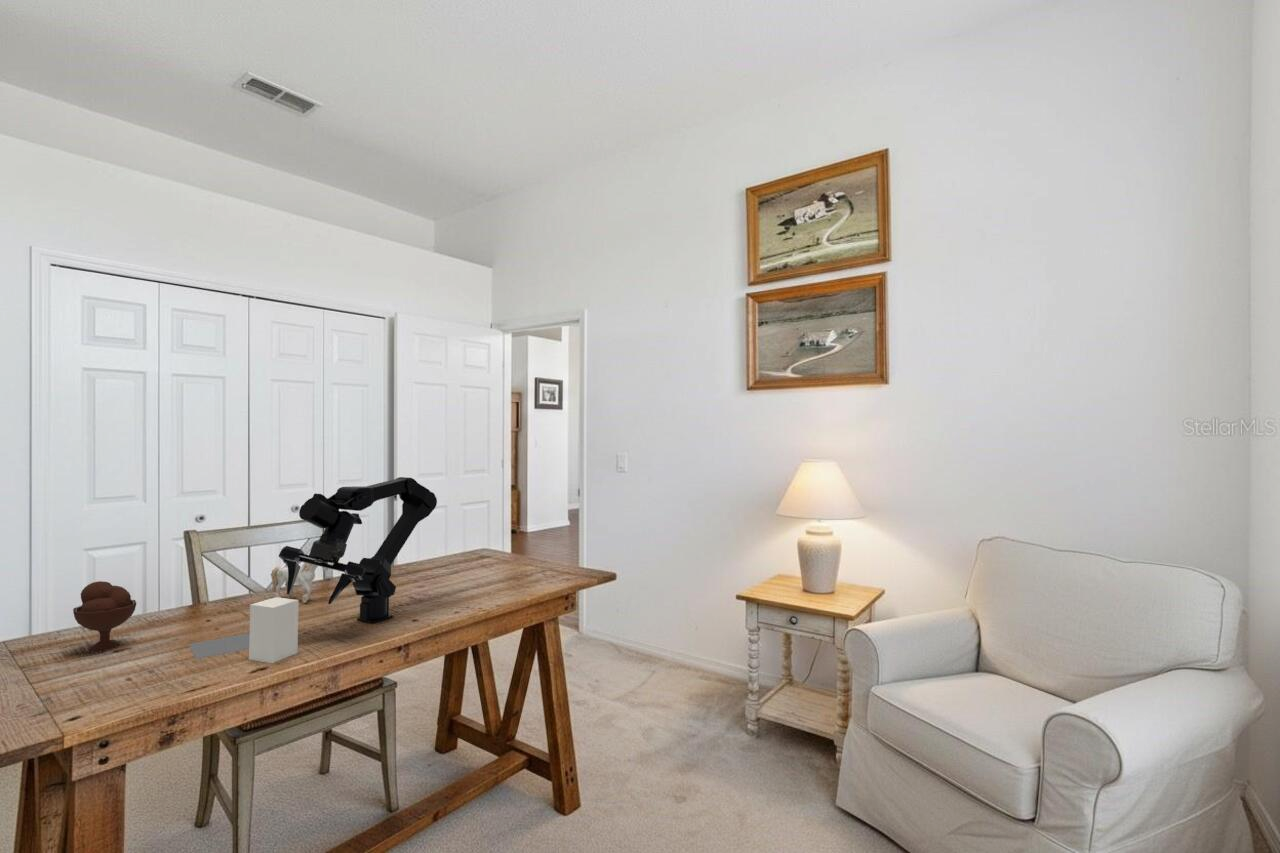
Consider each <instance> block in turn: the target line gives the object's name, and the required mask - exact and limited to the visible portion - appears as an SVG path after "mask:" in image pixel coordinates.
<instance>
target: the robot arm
mask: <svg viewBox="0 0 1280 853" xmlns="http://www.w3.org/2000/svg"><path fill="white" fill-rule="evenodd" d="M397 495H398V497H399V500H400V501H402V504H401V505H402V506H401V511H402V512H401V515H400V516H399V518H398V519H397V521H396V523H395V524H394V526H393V527H392V529H391V530H390V531H389V533H388V535H387V536H386V537H385V539H384V541H383V542H382V544H380V546H379V548H378V550H377V551H376V552H375V554H374V555H373V556H372V557H370V558H368V557H363V558H362V559H361V560H360V561H359V563H357V562H353V561H348V562H347V563H346V564H345V563H341V562H339V561H340V559H341V558H343V557H344V555H345V552H346V550H347V547H348V544H347V542H348V540H349V537H350V534H351V532H352V529H353V528H354V525H362V524H363V522H362V519H361V516H360V514H359V513H353V512H352V513H350V512H349V511H360V512H361V511H364V510H365V509H367V508H369V507H372V505H373V504H374V503H375V502H377V501H381V500H383V499H387V498H391V497H393V496H397ZM437 504H438V499H437V496H436V495H435V493H434V492H433V491H431V490H430V489H428V488H427V487H425V486H423V485H422V484H420V483H418V481H416V479H414V478H412V477H402V476H399V477H397V478H394V479H391V480H387V481H382V482H379V483H375V484H371V485H367V486H366V485H365V486H354V485H353V486H341V487H339V488H338V489H337V491H336V493H333V494H332V495H331V496H329V497H326V496H325V495H324V494H322V493H316V492H315V493H313V496H312V497H310V498H309V499H307V500H306V501H305V502H304V503H303V504H302V505H301V507H300V509H299V511H298V514H299V515H298V516H299V518H300V519H301V520H302V521H305V522H307V523H309V524H312V525H313V526H315V527H318V528H319V529H324V531H323V533H322V534H321V535H320V538H319V539H318V540H315V541H313V542H312V545H311V548H310V551H309V554H306V553H305V552H304V551H303V549H302V548H297V547H293V546H288V545H285V546H283V547H282V549H280V552H279V554H278V557H279V559H281V560H282V562H283V563H284V564H285V565H286V567H288V585H287V587H286V588H287V589H286V595H289V596H290V593H291V591H292V589H293V590H294V586H295V584H294V583H295V581H296V578H297V575H298V573H299V570H300V568H301V566H300V565H299V564H300V563H309V564H313V565H317V566H318V567H321V568H322V567H325V568H329V569H330V570H334V571H336V572H337V571H339V572H342V573H341V575H340V578H339V579H338V582H337V584H336V585H335V588H334V589H333V591H332V593H331V595H330V597H329V599H328V603H327V604H328V605H331V604H333V603H334V601H335V599H336V598H337V597H338V596H339V595H340V594H341V593H342V591H343V590H345V588H347V587H348V586H349V585H350V584H351V583H352V585H353V587H354V591H355V595H356V596H361V597H360V598H361V599H360V604H359V616H357V617H356V620H358V621H362V622H366V623H369V624H375V623H379V622H381V621H385V620H387V619H390V617H391V618H394V615H393V614H390V613H389V612H390V610H389V609H390V608H389V607H390V597H392V596H394V595H395V592H396V589H397V586H396V585H395V584H394V583H393V582H392V581H391V580H390V578H391V577H392V565H393V562H394V561H395V560H396V558H397V557H398V555H399V553H400V552H401V550H402V548H403V547H404V546H405V544H406V542H407V540H408V539H409V538H410V536H411V534H412V532H414V529H415V528H416V526H417V525H418V523H420V522H421V521H423V520H424V519H426V518H427V517H429V516H430V515H431V514H432V512H433V511H434V510H435V509H436V506H437ZM340 510H341V511H340ZM315 561H318V562H315ZM319 562H320V563H319ZM329 563H330V564H329ZM329 569H328V570H329Z"/></svg>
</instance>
